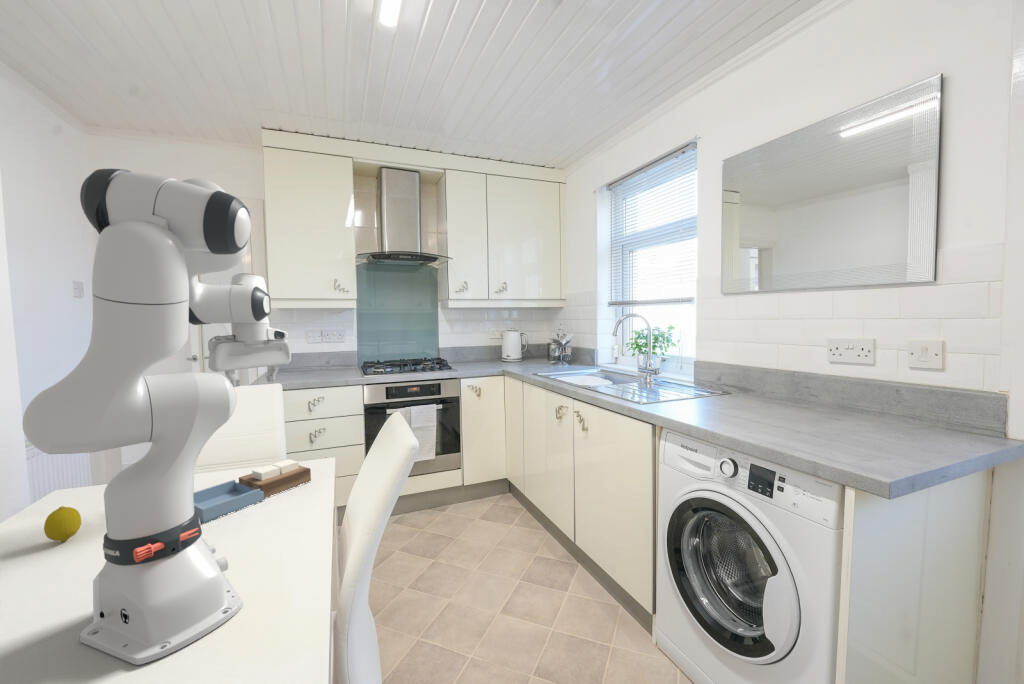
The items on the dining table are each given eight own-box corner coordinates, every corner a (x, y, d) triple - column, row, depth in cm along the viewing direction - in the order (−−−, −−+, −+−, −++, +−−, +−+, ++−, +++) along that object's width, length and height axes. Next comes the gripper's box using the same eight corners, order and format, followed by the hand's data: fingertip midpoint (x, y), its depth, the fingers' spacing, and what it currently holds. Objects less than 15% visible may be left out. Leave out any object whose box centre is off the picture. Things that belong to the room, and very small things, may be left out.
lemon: (43, 551, 87) (40, 515, 86) (48, 541, 91) (45, 506, 90) (80, 541, 90) (77, 506, 90) (84, 532, 94) (81, 498, 94)
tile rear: (298, 468, 122) (298, 461, 122) (281, 473, 118) (281, 467, 117) (288, 465, 124) (288, 459, 124) (272, 471, 120) (271, 464, 120)
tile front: (280, 474, 117) (279, 467, 117) (262, 480, 113) (261, 473, 113) (270, 471, 120) (270, 464, 120) (252, 477, 115) (252, 470, 115)
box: (264, 500, 109) (263, 488, 109) (203, 523, 97) (202, 509, 97) (237, 490, 116) (236, 478, 116) (178, 511, 104) (177, 497, 104)
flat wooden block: (311, 481, 122) (310, 468, 121) (262, 500, 110) (261, 485, 109) (287, 474, 128) (287, 462, 127) (239, 491, 116) (238, 477, 115)
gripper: (214, 336, 101) (217, 391, 102) (293, 332, 119) (295, 379, 120) (201, 335, 104) (204, 388, 105) (280, 332, 122) (282, 377, 123)
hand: (253, 383), depth 113 cm, fingers open, 8 cm apart
